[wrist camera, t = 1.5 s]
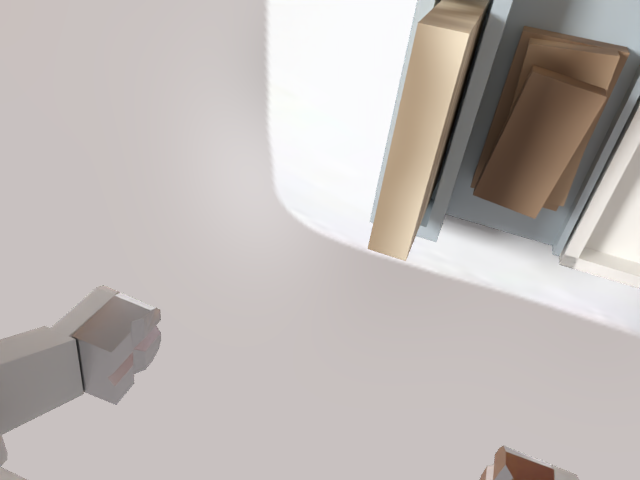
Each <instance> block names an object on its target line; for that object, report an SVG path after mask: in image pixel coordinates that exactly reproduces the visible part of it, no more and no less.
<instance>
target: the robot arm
mask: <svg viewBox="0 0 640 480" xmlns="http://www.w3.org/2000/svg"><path fill="white" fill-rule="evenodd" d="M160 320H161V315H160V310H159V309H157V308H155V307H153V306H151V305H148V304H146V303H144V302H142V301H139V300H137V299H134V298H132V297H130V296H128V295H125V294H123V293H120V292H118V291H115V290H113V289H111V288H108V287H106V286H104V285H103V286H100V287H97V288H95V289H94V290H93V291H92V292H90V293H89V294H88V295H87V296H86V297H85V298H84V299H83V300H82V301H80V302H79V303H78V304H77V305H76V306H75V307H73V308H72V309H71V310H70V311H69V312H68V313H67V314H66V315H65V316H63V317H62V318H61V319H60V320H59V321H58V322H57V323H55V324H54V325H53V326H52V327H51V328H49V327H46V326H43V327H40V328H37V329H34V330H30V331H27V332H24V333H20V334H17V335H14V336H11V337H8V338H4V339H1V340H0V480H27V479H24V478H22V477H20V476H18V475H16V474H14V473H12V472H10V471H8V470H6V469H4V468H2V467H1V466H2V464H3V463H4V462H5V461H6V460H7V451H6V447H5V444H4V441H3V438H2V434H4V433H6V432H8V431H10V430H12V429H14V428H16V427H18V426H20V425H22V424H24V423H26V422H28V421H30V420H32V419H34V418H36V417H38V416H40V415H42V414H44V413H46V412H48V411H50V410H52V409H55V408H56V407H58V406H61V405H63V404H64V403H67V402H69V401H70V400H73V399H74V398H77V397H79V396H81V395H82V394H84V392H86V393H89V394H91V395H93V396H96V397H98V398H100V399H103V400H106V401H108V402H111V403H113V404H115V405H117V403H118V402H119V401H120V400H121V398H122V397H123V396H124V395H125V394H126V393H127V391H128V390H129V389H130V388H131V387H132V385H133V384H134V374H135V373H138V372H140V371H143V370H145V369H146V368H147V367H148V366H149V364H150V363H151V362H152V361H153V359H154V357H155V355H156V353H157V351H158V349H159V345H160V341H161V332H160V331H159V329H158V328H157V326H156V325H157V324H158V322H159V321H160ZM480 480H579V479H578V477H577V475H576V474H573V473H571V472H568V471H566V470H563V469H561V468H558V467H556V466H553V465H550V464H549V463H547V462H544V461H542V460H539V459H537V458H534V457H532V456H529V455H526V454H524V453H521V452H519V451H516V450H513V449H511V448H508V447H505V446H502V447H500V448H499V449H498V451H497V452H496V454H495V459H494V464H493V465H489V466H487V467H486V469H485V470H484V472H483V474H482V475H481V478H480Z"/></svg>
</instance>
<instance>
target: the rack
mask: <svg viewBox="0 0 640 480" xmlns="http://www.w3.org/2000/svg"><path fill="white" fill-rule="evenodd" d="M440 1H441V0H417V5H416V9H415V14H414V18H413V23H412V28H411V32H410V37H409V42H408V46H407V51H406V55H405V60H404V65H403V69H402V74H401V79H400V83H399V88H398V93H397V97H396V102H395V106H394V111H393V116H392V120H391V125H390V130H389V134H388V139H387V143H386V148H385V153H384V157H383V162H382V167H381V171H380V176H379V180H378V185H377V190H376V196H375V200H374V205H373V210H372V214H371V219H370V222H372V223H374V218H375V214H376V209H377V205H378V200H379V196H380V191H381V187H382V182H383V178H384V173H385V169H386V164H387V160H388V155H389V151H390V146H391V142H392V137H393V133H394V128H395V124H396V119H397V115H398V110H399V106H400V101H401V97H402V92H403V88H404V83H405V79H406V74H407V70H408V65H409V61H410V56H411V52H412V47H413V42H414V38H415V33H416V29H417V24H418V22H419V21H420V20H421V19H422V18H423V17H424V16H425V15H426V14H428V13H429V12H430V11H431V10H432V9H433V8H434V7H435V6H436V5H437V4H438V3H439V2H440ZM524 26H528V27H533V28H538V29H543V30H548V31H552V32H557V33H562V34H567V35H572V36H577V37H581V38H586V39H591V40H596V41H601V42H606V43H610V44H615V45H620V46H625V47H627V48H628V50H629V52H630V54H629V56H628V59H627V61H626V63H625V65H624V67H623V69H622V71H621V74H620V76H619V78H618V80H617V82H616V84H615V86H614V89H613V91H612V93H611V95H610V97H609V99H608V102H607V104H606V106H605V108H604V110H603V112H602V114H601V117H600V119H599V121H598V123H597V125H596V127H595V129H594V132H593V134H592V136H591V138H590V140H589V142H588V145H587V147H586V149H585V151H584V153H583V156H582V159H581V161H580V164H579V167H578V169H577V172H576V175H575V177H574V180H573V183H572V185H571V188H570V191H569V193H568V196H567V199H566V201H565V204H564V207H563V206H559V207H558V209H557V211H553V210H550V209H546V208H541V210H540V212H539V213H538V215H537V217H536V218H535V219H534V218H531V217H529V216H526V215H523V214H521V213H518V212H516V211H513V210H510V209H508V208H505V207H503V206H500V205H497V204H495V203H492V202H490V201H487V200H484V199H482V198H479V197H477V196H474V195H473V192H474V188H471V187H470V186H471V183H472V179H473V176H474V173H475V170H476V167H477V164H478V161H479V158H480V155H481V152H482V149H483V146H484V143H485V140H486V137H487V134H488V132H489V129H490V126H491V123H492V120H493V117H494V114H495V111H496V108H497V105H498V102H499V99H500V96H501V93H502V90H503V87H504V84H505V81H506V78H507V75H508V72H509V69H510V66H511V63H512V60H513V57H514V54H515V51H516V48H517V45H518V43H519V40H520V37H521V34H522V31H523V28H524ZM639 95H640V0H490V4H489V7H488V10H487V14H486V17H485V21H484V24H483V27H482V31H481V34H480V38H479V41H478V45H477V48H476V51H475V55H474V58H473V62H472V65H471V68H470V72H469V75H468V79H467V82H466V86H465V89H464V92H463V96H462V99H461V103H460V106H459V109H458V113H457V116H456V120H455V123H454V127H453V130H452V133H451V137H450V140H449V144H448V147H447V150H446V154H445V157H444V161H443V164H442V168H441V171H440V174H439V178H438V181H437V184H436V187H435V189H434V192H433V194H432V197H431V199H430V202H429V204H428V207H427V209H426V212H425V214H424V217H423V219H422V222H421V224H420V227H419V229H418V232H417V234H416V236H418V237H421V238H424V239H428V240H431V241H434V242H437V239H438V236H439V233H440V230H441V227H442V224H443V221H444V218H445V215H446V214H447V215H450V216H453V217H457V218H460V219H463V220H467V221H470V222H474V223H477V224H480V225H484V226H487V227H491V228H494V229H497V230H501V231H504V232H508V233H511V234H514V235H518V236H521V237H525V238H528V239H531V240H535V241H538V242H542V243H545V244H548V245H552V254H553V255H556V256H560V254H561V252H562V250H563V248H564V246H565V244H566V242H567V240H568V238H569V236H570V234H571V232H572V230H573V228H574V226H575V224H576V222H577V220H578V218H579V216H580V214H581V212H582V210H583V208H584V206H585V204H586V202H587V200H588V198H589V196H590V194H591V192H592V190H593V188H594V186H595V184H596V182H597V180H598V178H599V176H600V174H601V172H602V170H603V168H604V166H605V164H606V162H607V160H608V158H609V156H610V154H611V152H612V150H613V148H614V146H615V144H616V142H617V140H618V138H619V136H620V134H621V132H622V130H623V128H624V126H625V124H626V122H627V120H628V118H629V116H630V114H631V112H632V109H633V107H634V105H635V103H636V101H637V99H638V97H639Z"/></svg>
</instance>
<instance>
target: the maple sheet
mask: <svg viewBox="0 0 640 480" xmlns="http://www.w3.org/2000/svg"><path fill="white" fill-rule="evenodd" d="M489 4H490V0H441V1H440V2H439V3H438V4H437V5H436V6H435V7H434V8H433V9H432V10H431V11H430V12H429V13H428V14H426V15H425V16H424V17H423V18H422V19H421V20H420V21H419V22H418V24H417V29H416V33H415V38H414V42H413V47H412V52H411V56H410V61H409V65H408V70H407V74H406V79H405V83H404V88H403V92H402V97H401V101H400V106H399V110H398V115H397V119H396V124H395V128H394V133H393V137H392V142H391V146H390V151H389V155H388V160H387V164H386V169H385V173H384V178H383V182H382V187H381V191H380V196H379V200H378V205H377V209H376V214H375V218H374V223H373V227H372V232H371V236H370V241H369V245H368V249H370V250H373V251H376V252H379V253H382V254H385V255H389V256H392V257H395V258H398V259H401V260H404V261H406V259H407V256H408V254H409V251H410V249H411V247H412V244H413V242H414V239H415V237H416V234H417V232H418V229H419V227H420V224H421V222H422V219H423V217H424V214H425V212H426V209H427V207H428V204H429V202H430V199H431V197H432V194H433V192H434V189H435V187H436V184H437V181H438V178H439V174H440V171H441V168H442V164H443V161H444V157H445V154H446V150H447V147H448V144H449V140H450V137H451V133H452V130H453V127H454V123H455V120H456V116H457V113H458V109H459V106H460V103H461V99H462V96H463V92H464V89H465V86H466V82H467V79H468V75H469V72H470V68H471V65H472V62H473V58H474V55H475V51H476V48H477V45H478V41H479V38H480V34H481V31H482V27H483V24H484V21H485V17H486V14H487V10H488V7H489Z"/></svg>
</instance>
